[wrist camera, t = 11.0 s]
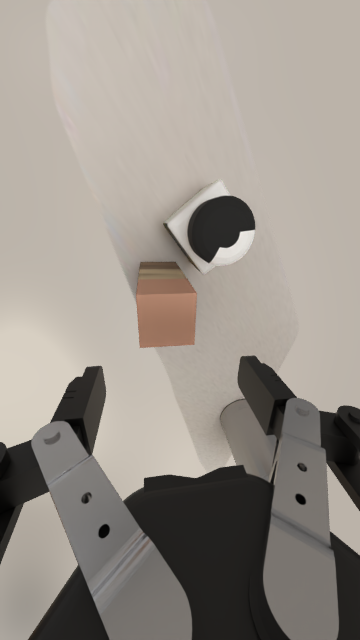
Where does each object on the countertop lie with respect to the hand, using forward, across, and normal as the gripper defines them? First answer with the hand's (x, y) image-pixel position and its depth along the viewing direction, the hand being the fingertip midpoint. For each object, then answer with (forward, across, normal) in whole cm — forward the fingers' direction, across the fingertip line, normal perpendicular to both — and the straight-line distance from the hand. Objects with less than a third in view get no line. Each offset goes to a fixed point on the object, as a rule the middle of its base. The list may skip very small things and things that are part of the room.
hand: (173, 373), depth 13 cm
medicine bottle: (+22, -6, -7) cm, 24 cm away
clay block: (+12, 0, 0) cm, 12 cm away
